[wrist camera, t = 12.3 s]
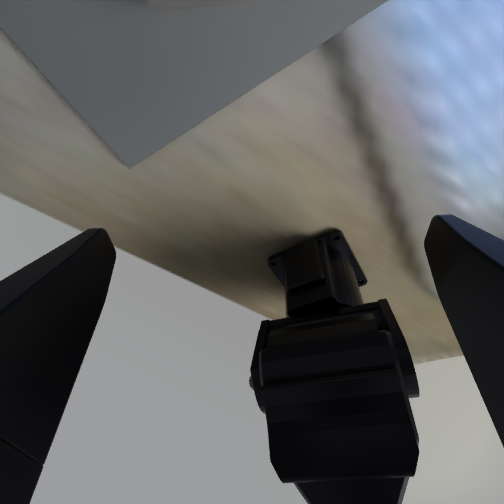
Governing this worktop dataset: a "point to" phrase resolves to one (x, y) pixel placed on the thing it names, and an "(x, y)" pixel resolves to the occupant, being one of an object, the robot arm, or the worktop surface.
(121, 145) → the mat
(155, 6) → the tan wooden block
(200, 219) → the worktop surface
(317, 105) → the worktop surface
